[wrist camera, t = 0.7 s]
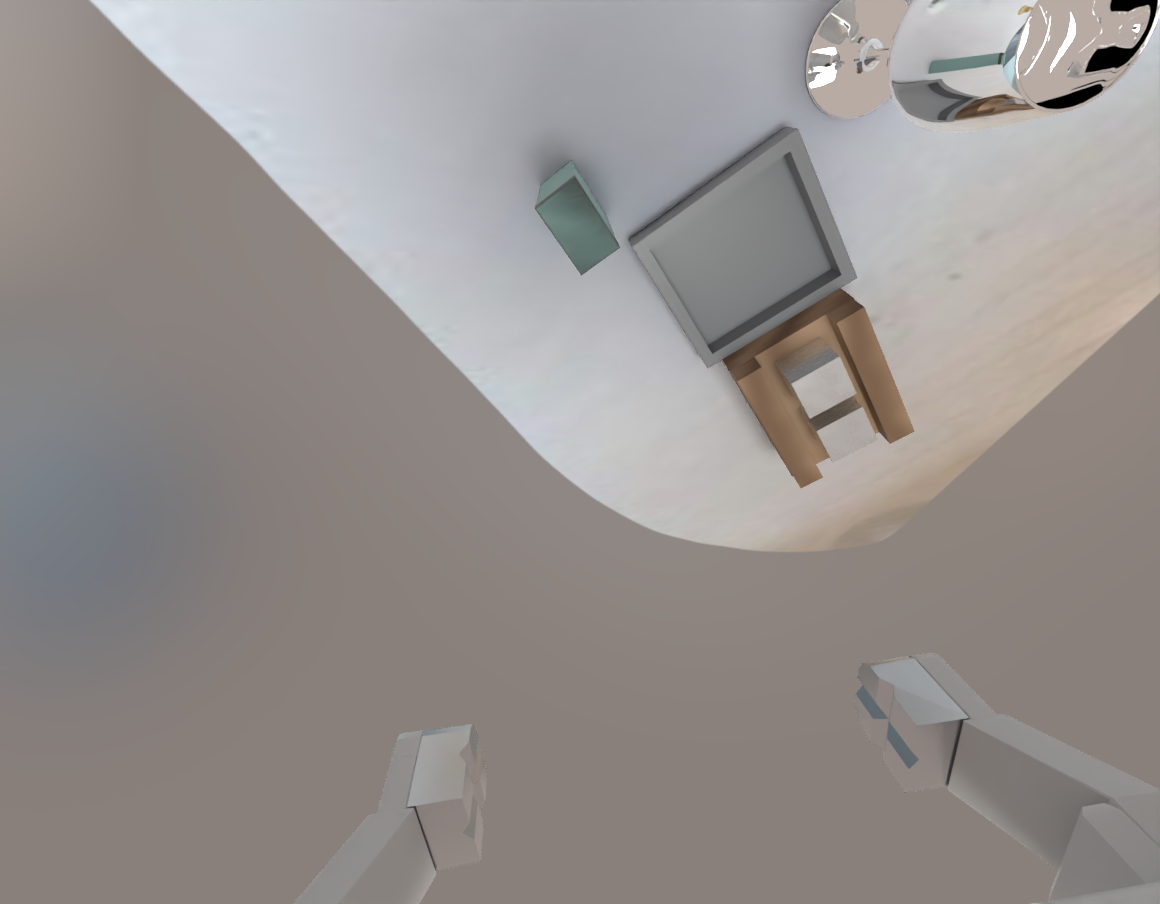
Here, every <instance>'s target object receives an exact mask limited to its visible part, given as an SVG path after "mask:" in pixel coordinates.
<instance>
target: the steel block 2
mask: <svg viewBox="0 0 1160 904" xmlns="http://www.w3.org/2000/svg"><path fill="white" fill-rule="evenodd" d="M799 409H800V411H801V413H802V415H803V417H804V419H805V420H806V422H807V424H808V426H809V428H810V430H811V432H812V433H813V435H814V437H815V439H816V440H817V441H818V443H819V444H820V445H821V447H822V448H823V450H824V451H825V452H826V454H827V455H828V456H829V458H830V459H831V460H832V462H835V461H837V460H839V459H841V458H843V457H845V456H847V455H849V454H851V453H853V452H855V451H857V450H859V449H860V448H862V447H864V446H866V445H868V444H870V443H872V442H874V441H876V440H878V439H877V437H876V435H875V433H874V430H873V428H872V426H871V424H870V422H869V419H868V417H867V415H866V413H865V411H864V408H863V407H862V405H861V404H860V403H859V402H858V401H857V400H856V399H855V398H854V397H853V396H851V397H850V398H848V399H846V400H844V401H842V402H840V403H838V404H837V405H835V406H833V407H831V408H829V409H827V410H825V411H824V412H822V413H820V414H818V415H816V416H814V417H812V418H811V419H810V418H809V417H808V416H807V414H806V413H805V412H804V411H803V409H802V408H801V407H799Z"/></svg>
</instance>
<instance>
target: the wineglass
mask: <svg viewBox="0 0 1160 904" xmlns="http://www.w3.org/2000/svg"><path fill="white" fill-rule="evenodd" d="M1159 17H1160V0H912V2H911V3H910V4H909V5H908V4H907V2H906V1H905V0H840V1H839V2H838V3H837V4H836V5H835V6H834V7H833V8H832V9H831V10H830V11H829V12H828V14H827V15H826V16H825V17H824V19H823V20H822V21H821V23H820V25H819V27H818V28H817V30H816V32H815V34H814V36H813V39H812V42H811V44H810V47H809V51H808V55H807V60H806V82H807V87H808V90H809V94H810V96H811V98H812V100H813V102H814V103H815V105H816V106H817V107H818V108H819V109H820V110H821V111H822V112H824V113H825V114H827V115H828V116H831V117H834V118H837V119H852V118H857V117H860V116H863V115H865V114H868V113H870V112H871V111H873V110H875V109H876V108H878V107H879V106H880V105H881V104H883V103H884V102H885V101H886V100H887V99H888V98H889V97H890V96H891V97H892V99H893V101H894V104H895V105H896V107H897V108H898V109H899V111H900V112H901V113H902V114H903V115H904V116H905V118H906V119H907V120H909V121H910V122H912V123H913V124H915V125H916V126H920V127H923V128H926V129H929V130H932V131H936V132H947V133H966V132H976V131H983V130H988V129H994V128H999V127H1004V126H1009V125H1014V124H1019V123H1023V122H1027V121H1032V120H1036V119H1039V118H1043V117H1047V116H1051V115H1054V114H1058V113H1062V112H1066V111H1070V110H1073V109H1075V108H1078V107H1081V106H1083V105H1085V104H1087V103H1089V102H1091V101H1092V100H1094V99H1096V98H1098V97H1099V96H1100V95H1102V94H1103V93H1104V92H1106V91H1107V90H1109V89H1110V88H1111V87H1112V86H1113V85H1114V84H1115V83H1117V82H1118V81H1119V80H1120V79H1121V78H1122V77H1123V76H1124V75H1125V74H1126V73H1127V71H1128V70H1129V69H1130V68H1131V67H1132V65H1133V64H1134V63H1135V62H1136V61H1137V59H1138V58H1139V56H1140V55H1141V53H1142V52H1143V50H1144V49H1145V47H1146V46H1147V44H1148V42H1149V40H1150V38H1151V36H1152V34H1153V32H1154V30H1155V28H1156V25H1157V22H1158V20H1159Z"/></svg>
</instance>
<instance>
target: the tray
mask: <svg viewBox="0 0 1160 904" xmlns="http://www.w3.org/2000/svg"><path fill="white" fill-rule="evenodd" d="M629 241H630V243H631V246H632V248H633V249H634V251H635V252H636V254H637V256H638V257H639V259H640V260H641V262H642V264H643V265H644V267H645V268H646V270H647V272H648V273H649V275H650V276H651V278H652V280H653V281H654V283H655V285H656V286H657V288H658V289H659V291H660V293H661V294H662V296H663V297H664V299H665V301H666V302H667V304H668V305H669V307H670V309H671V310H672V312H673V313H674V315H675V317H676V318H677V320H678V322H679V323H680V325H681V326H682V328H683V330H684V331H685V333H686V334H687V336H688V338H689V339H690V341H691V342H692V344H693V346H694V347H695V349H696V350H697V352H698V354H699V355H700V357H701V359H702V360H703V362H704V363H705V365H706V367H707V368H709V367H711V366H712V365H714V364H716V363H717V362H719V361H721V360H722V359H724V358H726V357H727V356H729V355H731V354H732V353H734V352H736V351H737V350H739V349H740V348H742V347H744V346H745V345H747V344H749V343H750V342H752V341H754V340H755V339H757V338H759V337H760V336H762V335H764V334H765V333H767V332H769V331H770V330H772V329H774V328H775V327H777V326H779V325H780V324H782V323H783V322H785V321H787V320H788V319H790V318H792V317H793V316H795V315H797V314H798V313H800V312H802V311H803V310H805V309H807V308H808V307H810V306H812V305H813V304H815V303H817V302H818V301H820V300H822V299H823V298H825V297H826V296H828V295H830V294H831V293H833V292H835V291H836V290H838V289H840V288H841V287H843V286H845V285H846V284H848V283H850V282H851V281H853V280H855V279H856V278H857V276H856V273H855V271H854V268H853V266H852V263H851V261H850V258H849V256H848V253H847V251H846V248H845V246H844V243H843V241H842V238H841V236H840V233H839V231H838V228H837V226H836V223H835V221H834V218H833V216H832V213H831V211H830V208H829V205H828V203H827V200H826V198H825V195H824V193H823V190H822V188H821V185H820V183H819V180H818V178H817V175H816V173H815V170H814V168H813V165H812V163H811V160H810V158H809V155H808V153H807V150H806V148H805V145H804V143H803V140H802V138H801V135H800V133H799V130H798V129H796V128H790V127H784V128H783V129H782V130H780V131H779V132H778V133H776V134H775V135H773V136H772V137H771V138H769V139H768V140H766V141H765V142H764V143H762V144H761V145H760V146H758V147H757V148H755V149H754V150H753V151H751V152H750V153H748V154H747V155H746V156H744V157H743V158H741V159H740V160H739V161H737V162H736V163H735V164H733V165H732V166H730V167H729V168H728V169H726V170H725V171H723V172H722V173H721V174H719V175H718V176H717V177H715V178H714V179H712V180H711V181H710V182H708V183H707V184H705V185H704V186H703V187H701V188H700V189H698V190H697V191H696V192H694V193H693V194H692V195H690V196H689V197H687V198H686V199H685V200H683V201H682V202H680V203H679V204H678V205H676V206H675V207H673V208H672V209H671V210H669V211H668V212H667V213H665V214H664V215H662V216H661V217H660V218H658V219H657V220H655V221H654V222H653V223H651V224H650V225H649V226H647V227H646V228H644V229H643V230H642V231H640V232H639V233H637V234H636V235H635V236H633V237H632V238H630V239H629Z"/></svg>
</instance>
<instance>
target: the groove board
mask: <svg viewBox="0 0 1160 904" xmlns="http://www.w3.org/2000/svg"><path fill="white" fill-rule="evenodd" d="M817 337H820V338H821V339H822V340H823V341H824V342H825V343H826V344H827V345H828V346H829V347H830V348H831V349H832V350H833V351H835V352H836V353H837V354H838V355H839V356H840V358H841V360H842V363H843V365H844V367H845V369H846V371H847V373H848V376H849V378H850V380H851V382H852V384H853V387H854V389H855V391H856V393H857V394H855V395H853V397H854V398H855V399H856V400H857V401H858V402H859V403H860V404H861V405H862V407H863V408H864V411H865V413H866V415H867V417H868V419H869V422H870V424H871V426H872V428H873V430H874V433H875V434H876V433H878V432H880V433H881V434H882V436H883V437H884V438H885V439H886V440H887V441H888V442H889V443H892V442H894V441H896V440H898V439H900V438H902V437H904V436H906V435H908V434H910V433H912V432H914V429H913V427H912V424H911V422H910V419H909V417H908V414H907V412H906V409H905V407H904V404H903V402H902V399H901V397H900V394H899V392H898V389H897V387H896V385H895V382H894V380H893V377H892V375H891V372H890V370H889V367H888V365H887V362H886V360H885V357H884V355H883V352H882V350H881V347H880V345H879V342H878V340H877V338H876V335H875V333H874V330H873V328H872V325H871V323H870V320H869V318H868V315H867V313H866V310H865V308H864V307H863V306H862V305H861V304H859V303H858V302H856V301H855V300H854V298H853V297H852V296H850V295H849V294H847V293H846V292H844V291H843V290H842V289H838V290H836V291H835V292H833V293H831V294H830V295H828V296H826V297H825V298H823V299H822V300H820V301H818V302H817V303H815V304H813V305H812V306H810V307H808V308H807V309H805V310H803V311H802V312H800V313H798V314H797V315H795V316H793V317H792V318H790V319H788V320H787V321H785V322H783V323H782V324H780V325H779V326H777V327H775V328H774V329H772V330H770V331H769V332H767V333H765V334H764V335H762V336H760V337H759V338H757V339H755V340H754V341H752V342H750V343H749V344H747V345H745V346H744V347H742V348H740V349H739V350H737V351H736V352H734V353H732V354H731V355H729V356H727V357H726V358H724V359H722V360H723V361H724V363H725V365H726V366H727V368H728V370H729V372H730V373H731V375H732V377H733V378H734V380H735V382H736V383H737V385H738V387H739V388H740V390H741V392H742V393H743V395H744V397H745V398H746V400H747V402H748V403H749V405H750V407H751V408H752V410H753V412H754V413H755V415H756V417H757V418H758V420H759V422H760V423H761V425H762V427H763V428H764V430H765V432H766V433H767V435H768V437H769V438H770V440H771V442H772V443H773V445H774V447H775V448H776V450H777V452H778V453H779V455H780V457H781V458H782V460H783V462H784V463H785V465H786V467H787V468H788V470H789V472H790V473H791V475H792V476H794V478H795V479H796V481H797V483H798V484H799V486H800V488H802V487H804V486H806V485H808V484H810V483H812V482H814V481H816V480H818V479H820V478H822V475H821V473H820V471H819V469H818V468H817V466H816V464H817V463H819V462H821V461H823V460H825V459H827V458H829V456H828V455H827V454H826V452H825V451H824V450H823V448H822V447H821V445H820V444H819V443H818V441H817V440H816V439H815V437H814V435H813V433H812V432H811V430H810V428H809V426H808V424H807V422H806V420H805V419H804V417H803V415H802V413H801V411H800V409H799V407H800V405H799V404H798V403H797V401H796V400H795V399H794V397H793V396H792V394H791V393H790V391H789V389H788V387H787V385H786V383H785V381H784V380H783V378H782V376H781V374H780V372H779V370H778V368H777V366H776V365H775V363H774V362H776V361H778V360H780V359H781V358H783V357H785V356H786V355H788V354H790V353H792V352H793V351H795V350H797V349H798V348H800V347H802V346H804V345H805V344H807V343H809V342H810V341H812V340H814V339H816V338H817Z"/></svg>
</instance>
